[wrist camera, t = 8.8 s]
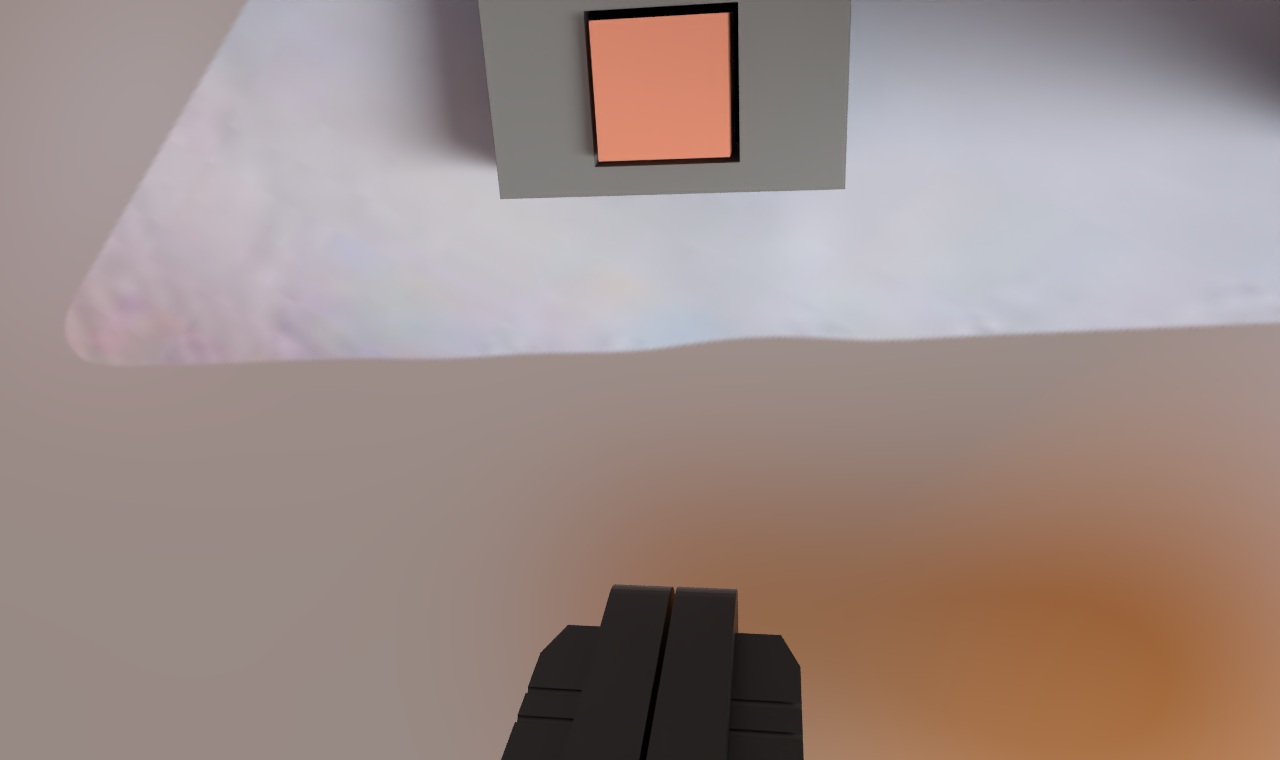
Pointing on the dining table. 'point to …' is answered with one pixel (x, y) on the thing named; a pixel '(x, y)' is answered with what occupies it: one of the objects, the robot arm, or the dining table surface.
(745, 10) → the grey plug holder
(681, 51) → the orange cube
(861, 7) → the dining table surface
